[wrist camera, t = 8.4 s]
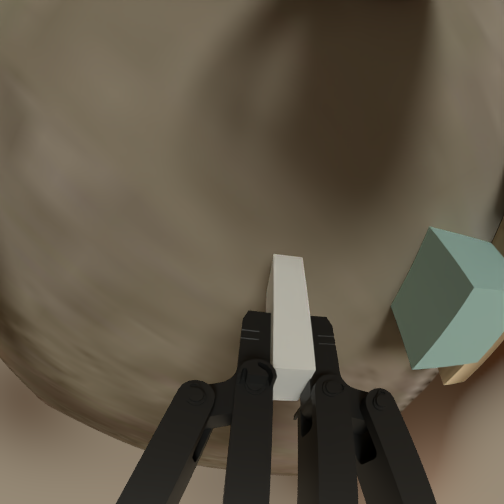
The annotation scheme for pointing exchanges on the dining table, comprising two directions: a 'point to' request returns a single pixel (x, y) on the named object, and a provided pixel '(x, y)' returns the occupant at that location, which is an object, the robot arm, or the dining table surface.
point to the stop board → (462, 372)
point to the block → (451, 301)
